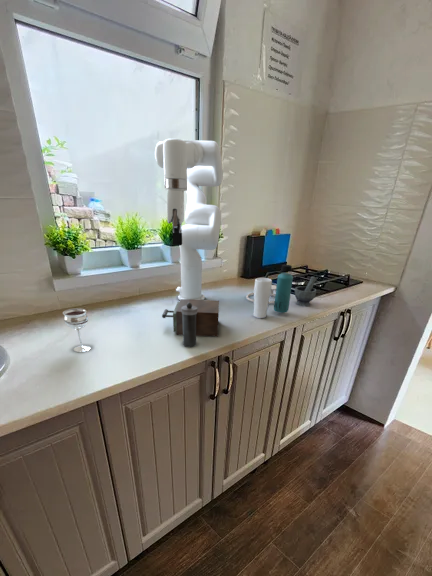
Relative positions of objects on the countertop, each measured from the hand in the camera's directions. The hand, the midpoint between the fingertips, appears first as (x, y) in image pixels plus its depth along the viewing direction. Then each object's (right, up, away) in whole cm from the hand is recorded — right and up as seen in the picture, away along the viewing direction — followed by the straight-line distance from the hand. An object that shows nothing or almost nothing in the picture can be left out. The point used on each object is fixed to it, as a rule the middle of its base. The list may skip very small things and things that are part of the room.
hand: (177, 244), depth 117 cm
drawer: (+4, -29, +3) cm, 29 cm away
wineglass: (-29, -40, -15) cm, 51 cm away
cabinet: (+7, -30, +4) cm, 31 cm away
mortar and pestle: (+56, -13, +35) cm, 67 cm away
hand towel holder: (+38, -9, +40) cm, 56 cm away
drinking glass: (+32, -23, +17) cm, 43 cm away
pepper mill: (+5, -37, -9) cm, 39 cm away
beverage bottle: (+42, -21, +21) cm, 51 cm away
